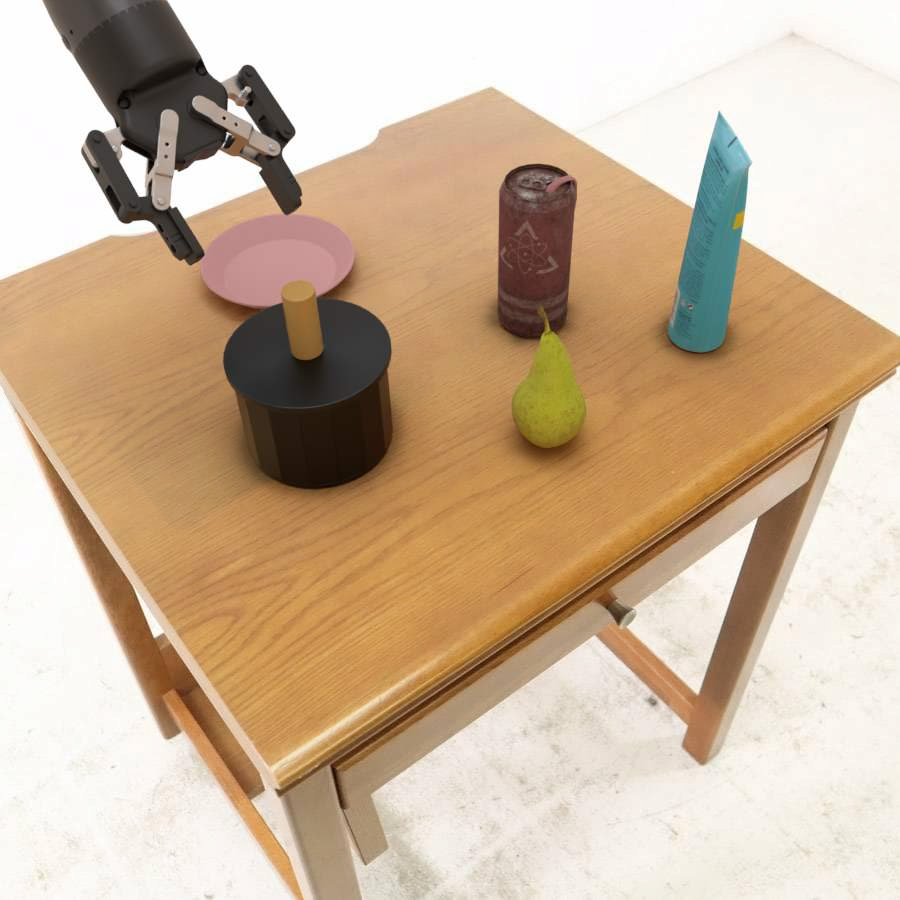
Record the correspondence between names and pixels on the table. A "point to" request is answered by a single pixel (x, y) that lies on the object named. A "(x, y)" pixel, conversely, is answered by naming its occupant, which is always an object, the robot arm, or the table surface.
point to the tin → (320, 440)
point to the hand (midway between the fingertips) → (247, 234)
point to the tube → (712, 245)
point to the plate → (276, 258)
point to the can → (535, 247)
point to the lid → (307, 353)
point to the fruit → (549, 395)
